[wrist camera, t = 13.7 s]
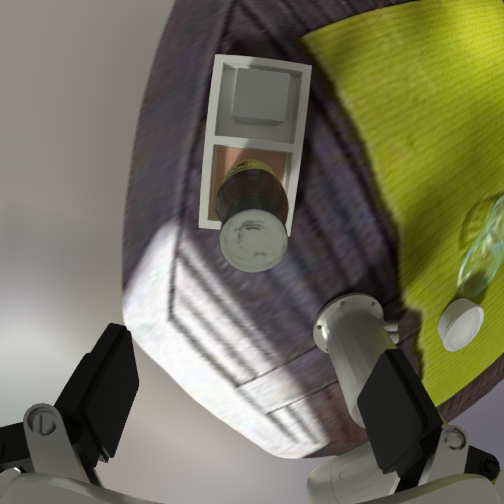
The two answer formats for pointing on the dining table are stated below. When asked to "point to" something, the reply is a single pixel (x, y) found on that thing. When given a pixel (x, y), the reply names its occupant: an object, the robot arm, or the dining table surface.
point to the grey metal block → (260, 97)
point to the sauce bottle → (252, 216)
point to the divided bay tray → (252, 132)
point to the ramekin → (460, 323)
